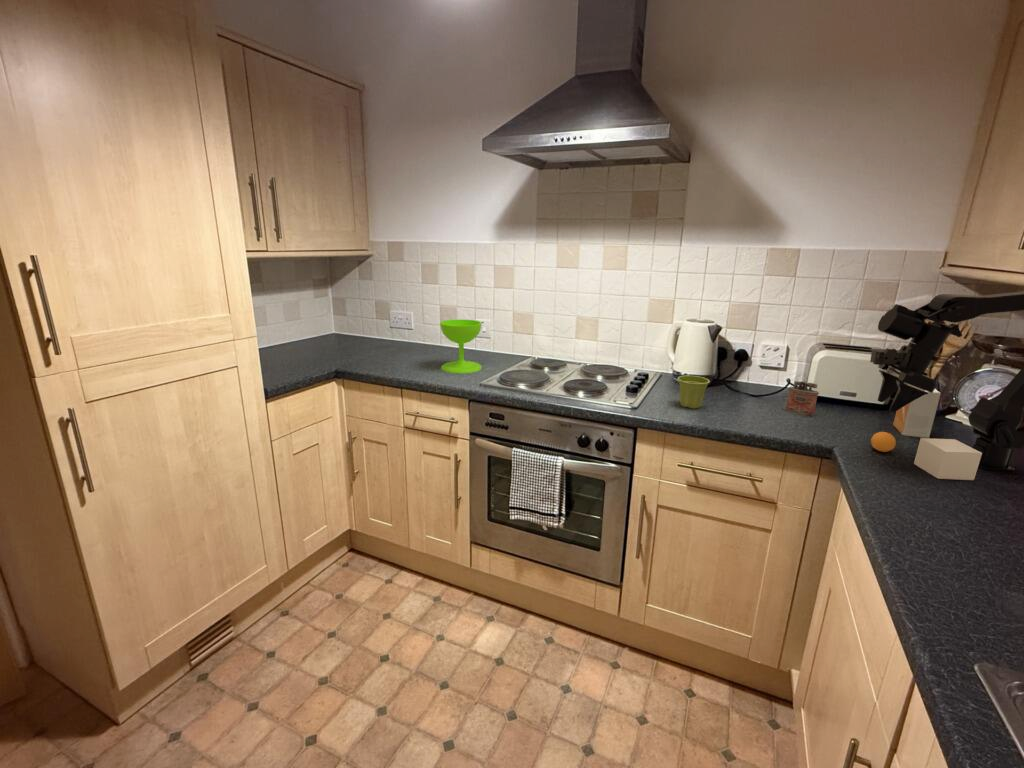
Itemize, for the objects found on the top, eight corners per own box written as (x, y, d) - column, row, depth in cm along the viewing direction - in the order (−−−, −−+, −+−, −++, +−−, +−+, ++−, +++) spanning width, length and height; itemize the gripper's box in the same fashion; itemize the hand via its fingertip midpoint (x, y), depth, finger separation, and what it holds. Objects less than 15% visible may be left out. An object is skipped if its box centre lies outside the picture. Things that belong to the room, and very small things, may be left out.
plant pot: (684, 411, 154) (687, 384, 151) (669, 401, 163) (672, 375, 160) (712, 409, 156) (715, 382, 153) (695, 400, 165) (698, 374, 162)
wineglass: (489, 366, 202) (489, 322, 197) (465, 375, 189) (464, 327, 184) (457, 361, 210) (457, 318, 205) (432, 369, 197) (431, 323, 192)
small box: (892, 425, 145) (903, 382, 142) (919, 428, 143) (930, 384, 139) (901, 435, 138) (912, 389, 134) (929, 438, 136) (942, 392, 132)
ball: (885, 447, 129) (889, 429, 128) (897, 455, 125) (902, 436, 123) (864, 446, 130) (869, 428, 128) (876, 454, 125) (881, 435, 124)
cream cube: (947, 465, 120) (955, 439, 118) (973, 480, 112) (982, 452, 111) (913, 463, 120) (920, 438, 118) (937, 478, 113) (945, 451, 111)
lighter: (783, 411, 156) (788, 379, 153) (786, 408, 158) (792, 377, 155) (812, 417, 151) (818, 385, 148) (815, 414, 153) (821, 383, 150)
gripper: (874, 329, 127) (841, 384, 132) (900, 338, 110) (861, 401, 115) (922, 346, 124) (886, 402, 129) (956, 359, 107) (913, 422, 112)
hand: (885, 406), depth 122 cm, fingers open, 9 cm apart
